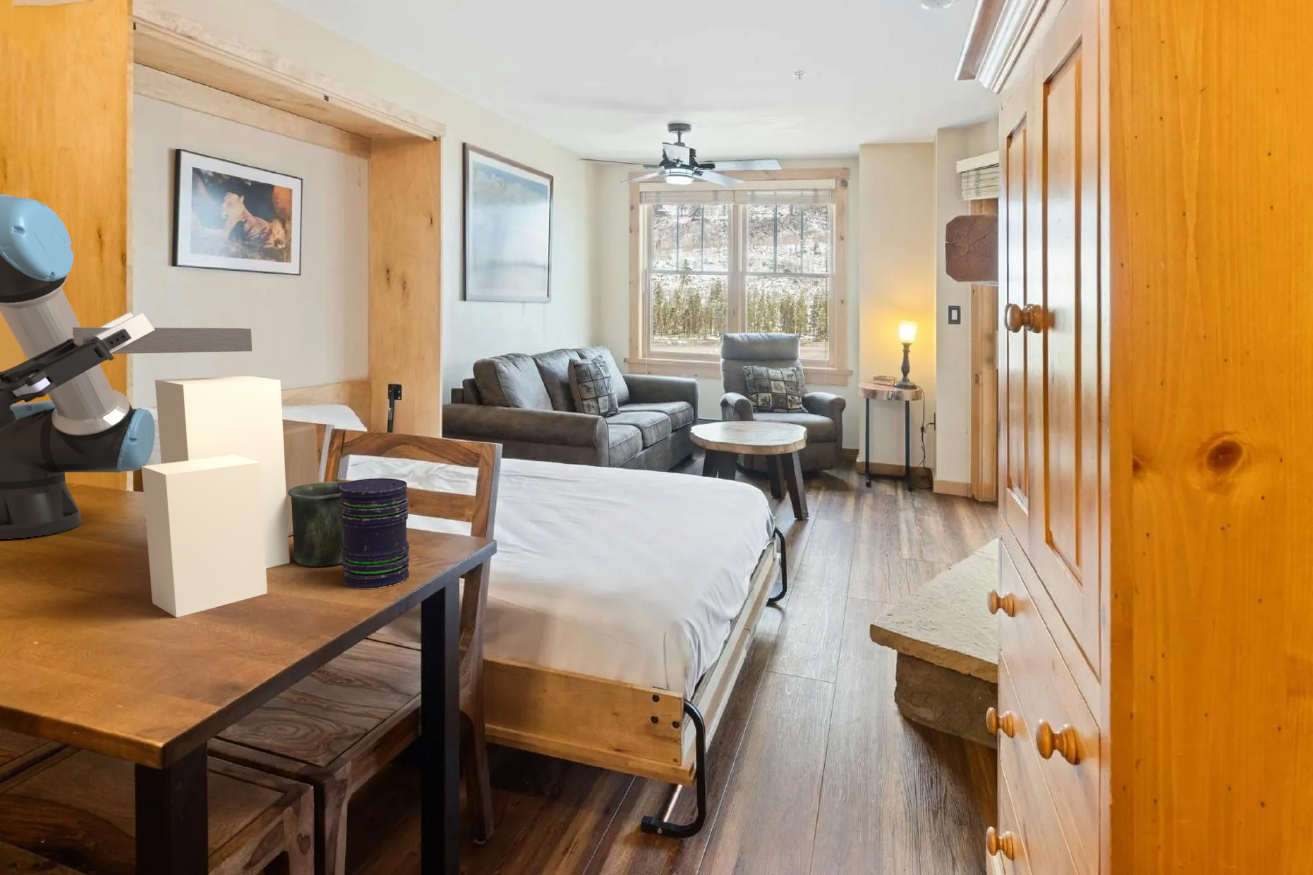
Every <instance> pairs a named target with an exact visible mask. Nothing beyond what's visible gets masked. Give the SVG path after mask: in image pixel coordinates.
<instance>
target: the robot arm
mask: <svg viewBox="0 0 1313 875" xmlns="http://www.w3.org/2000/svg"><path fill="white" fill-rule="evenodd" d="M72 245H73V243H72V240H71V237H70V234H69V232H68V229H67V228H66V225H65V224H64V222H63V221H62V220H61V218H60V217H59V216H58V215H57V213H56V212H55V211H54V210H53V209H51V208H50V207H49V206H47V205H46V204H44V203H43V202H41V201H37V200H36V199H33V198H30V197H19V196H12V195H11V194H10V195H9V194H3V193H1V194H0V315H1V316H2V317H3V319H4V321H5V323H6V325H7V326H8V328H9V329H10V331H11V333H12V335H13V336H14V339H15V340H16V342H17V343H18V345H19V347H20V348H21V350H22V352H23V354H24V356H25V357H26V359H27V360H25V361H23V362H21V363H19V364H17V365H14V366H13V367H11V368H8V369H6V370H1V371H0V539H8V538H9V539H10V538H23V539H28V538H27V537H31V538H34V537H33V536H38V537H43V536H42V535H45V536H49V535H55V534H58V533H59V534H60V533H62V532H66V531H68V530H69V531H71V530H72V529H74V528H76V527H79V526H81V524H82V515H81V510H80V507H78V505H77V502H76V501H75V498H74V496H73V494H72V493H71V490H70V489H69V487H68V484H67V480H66V473H118V474H119V473H124V472H136V471H140V470H142V466H147V463H148V462H149V461H150V459H151V457H152V453H153V450H154V444H155V438H156V428H155V421H154V417H153V414H152V413H151V411H150V410H149V409H145V408H142V407H138V408H133V407H132V405H131V402H130V401H129V399H128V397H127V396H126V395H125V394H124V393H122V392H121V391H120V390H119V391H118V390H116V389H114V388H112V386H111V384H110V382H109V381H108V378H107V376H106V374H105V372H104V370H103V368H102V366H101V364H102V363H103V362H105V361H108V360H109V361H110V362H111V361H113V360H114V359H115V357H114V355H113V354H111V353H112V352H114V351H116V350H118V349H120V348H122V347H124V346H126V345H127V344H129V343H131V342H133V341H135V340H137V339H139V338H140V337H142V336H144V335H146V334H148V333H150V332H152V331H154V330H155V329H154V328H155V327H154V326H153V325H152V323H151V322H150V321H149V319H148V318H147V317H146V315H145V313H143V312H139V313H137V314H135V315H134V314H133V313H132V312H131V311H129V312H126V313H125V314H123V315H121V316H119V317H117V318H115V319H113V320H111V321H108V322H107V323H105V324H103V325H101V326H100V327H112V328H110V329H108V330H106V331H104V332H102V333H100V334H98V335H96V336H95V337H96V338H94V339H92V340H91V341H89V342H87V343H85V344H83V345H81V346H79V347H77V348H75V349H74V338H73V327H82V326H81V323H80V322H79V320H78V318H77V315H76V313H75V311H74V310H73V307H72V306H71V304H70V301H69V300H68V298H67V296H66V293H65V292H64V290H63V288H62V287H64V286H65V284H66V283H67V280H68V274H70V272H71V270H72V269H73V264H74V251H73V250H72V249H71V246H72ZM47 395H48V397H49V399H50V400H41V401H40V400H39V401H33V400H35V399H37V398H38V399H40V398H43V397H45V396H47ZM22 401H24V402H22ZM19 402H22V403H19ZM54 533H55V534H54ZM10 540H11V539H10Z"/></svg>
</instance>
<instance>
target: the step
mask: <svg viewBox="0 0 1313 875" xmlns="http://www.w3.org/2000/svg"><path fill="white" fill-rule="evenodd" d="M141 476H142V489H143V500H144V501H143V503H144V512H145V513H144V514H145V526H146V528H145V529H146V538H147V539H146V540H147V550H148V551H147V552H148V564H149V565H148V566H149V573H150V574H149V575H150V576H149V577H150V588H151V589H150V590H151V600H152V604H153V605H155V606H157V607H158V608H159V609H161V610H163V611H165V612H166V613H167V614H170V615H171V616H172V617H175V619H176V618H181V617H185V616H188V615H192V614H195V613H199V612H203V611H206V610H210V609H211V610H212V609H214V608H217V607H218V608H219V607H221V606H225V605H228V604H229V605H230V604H232V603H237V602H240V601H245V600H248V599H251V598H255V597H258V596H263V595H266V594H268V583H267V582H268V580H267V568H266V561H265V543H264V525H263V507H262V490H261V472H260V462H257V461H253V460H250V459H246V458H242V457H239V456H235V455H231V456H222V457H214V458H206V459H198V460H189V461H181V462H173V463H164V464H161V463H157V464H148V465H145V466H142V468H141Z"/></svg>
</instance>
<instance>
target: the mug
mask: <svg viewBox="0 0 1313 875" xmlns="http://www.w3.org/2000/svg"><path fill="white" fill-rule="evenodd" d="M346 482H347V481H321V482H320V481H319V483H311V484H305V485H300V486H297V487H294V488H292V489H290V490H289V491H288V494H289V496H291V504H292V524H293V535H292V538H293V539H292V541H293V542H292V544H293V558H294V561H295V562H296V563H297V564H298V565H301V566H305V567H314V568H315V567H316V568H317V567H332V566H338V565H342V553H341V551H342V546H343V545H344V537H343V524H342V523H341V519H340V516H341V511H340V502H341V501H340V495H341V493H340V485H342V484H343V483H346Z"/></svg>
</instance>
